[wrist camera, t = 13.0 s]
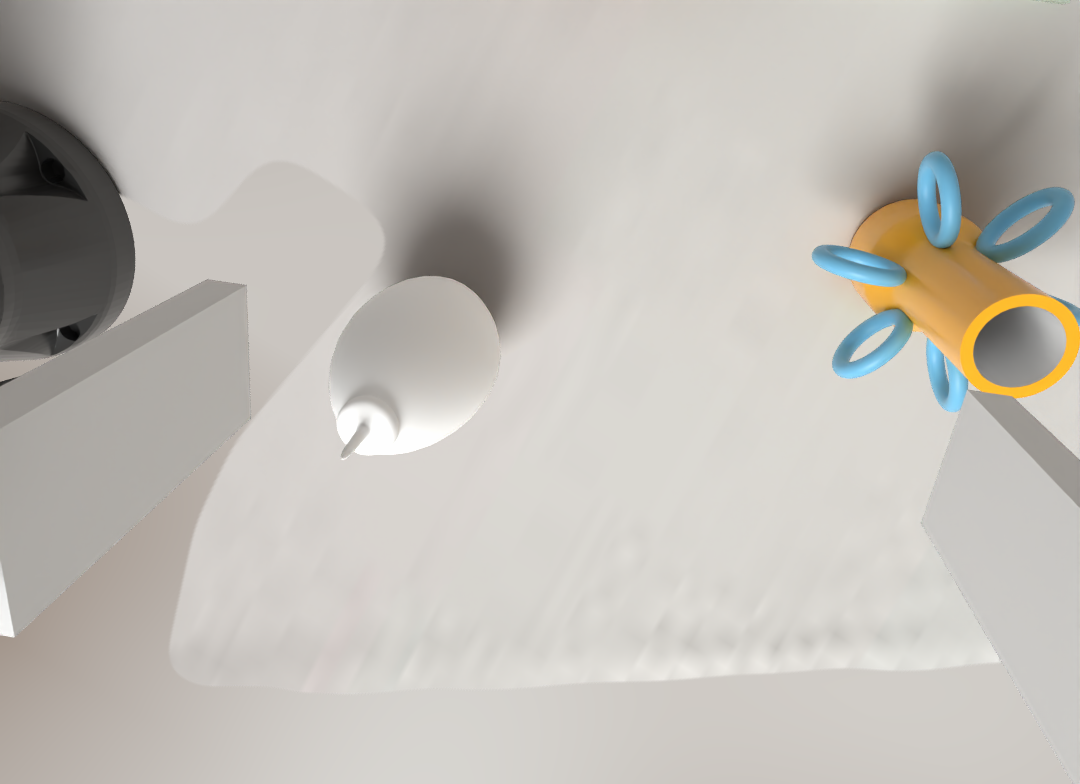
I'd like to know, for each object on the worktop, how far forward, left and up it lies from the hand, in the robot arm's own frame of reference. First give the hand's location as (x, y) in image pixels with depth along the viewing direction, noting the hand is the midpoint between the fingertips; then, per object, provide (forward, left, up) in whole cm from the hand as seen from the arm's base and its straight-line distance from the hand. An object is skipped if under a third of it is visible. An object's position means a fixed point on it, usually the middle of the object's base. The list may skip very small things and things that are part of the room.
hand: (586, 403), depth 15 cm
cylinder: (+15, -2, -31) cm, 35 cm away
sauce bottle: (-9, -10, -31) cm, 34 cm away
